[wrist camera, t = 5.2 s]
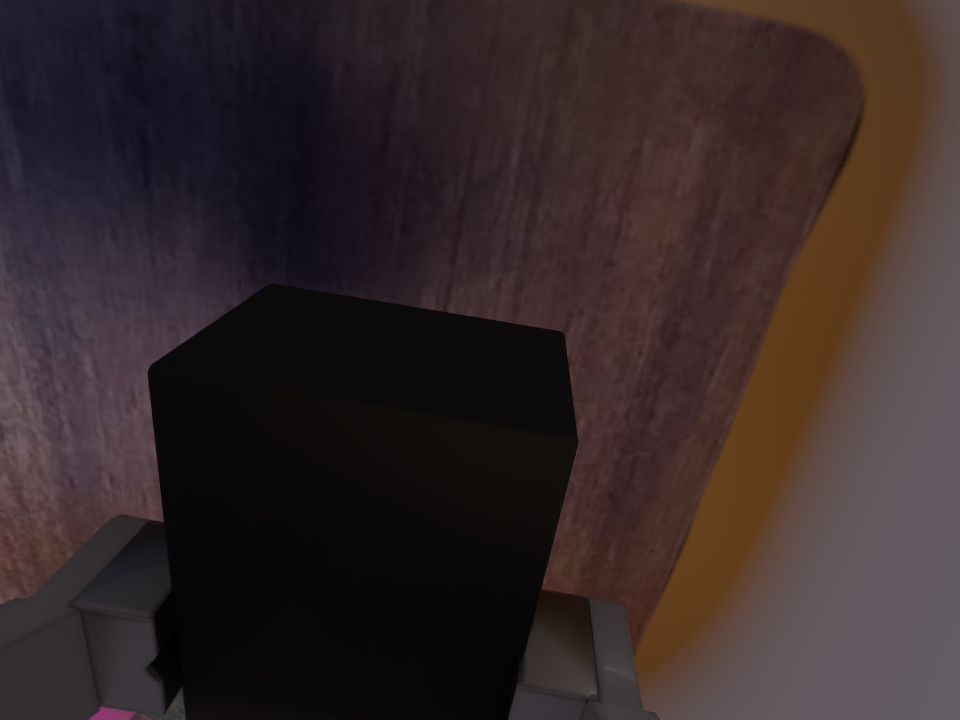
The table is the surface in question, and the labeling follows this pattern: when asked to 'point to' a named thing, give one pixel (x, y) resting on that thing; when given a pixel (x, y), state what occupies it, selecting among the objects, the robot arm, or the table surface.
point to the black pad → (358, 505)
